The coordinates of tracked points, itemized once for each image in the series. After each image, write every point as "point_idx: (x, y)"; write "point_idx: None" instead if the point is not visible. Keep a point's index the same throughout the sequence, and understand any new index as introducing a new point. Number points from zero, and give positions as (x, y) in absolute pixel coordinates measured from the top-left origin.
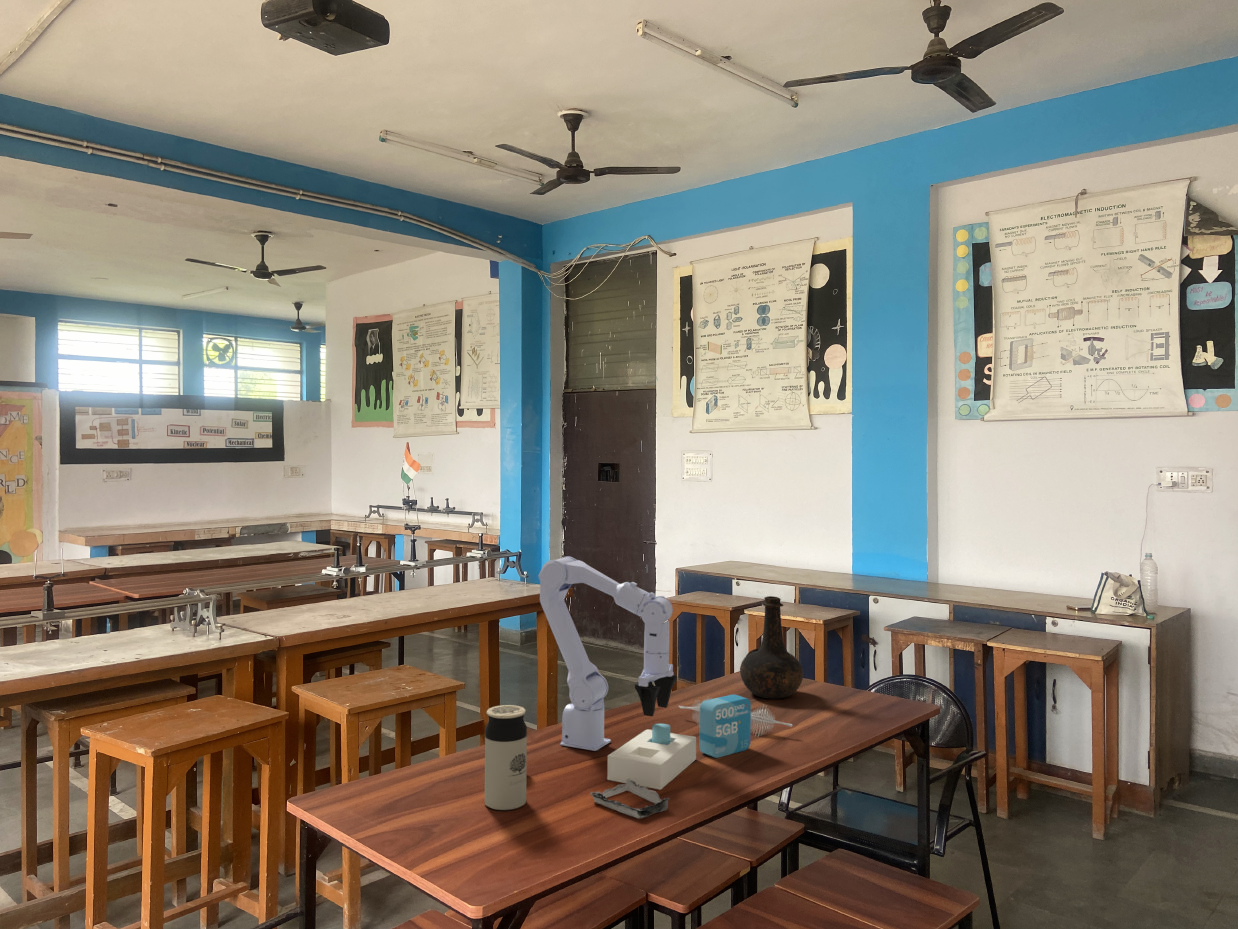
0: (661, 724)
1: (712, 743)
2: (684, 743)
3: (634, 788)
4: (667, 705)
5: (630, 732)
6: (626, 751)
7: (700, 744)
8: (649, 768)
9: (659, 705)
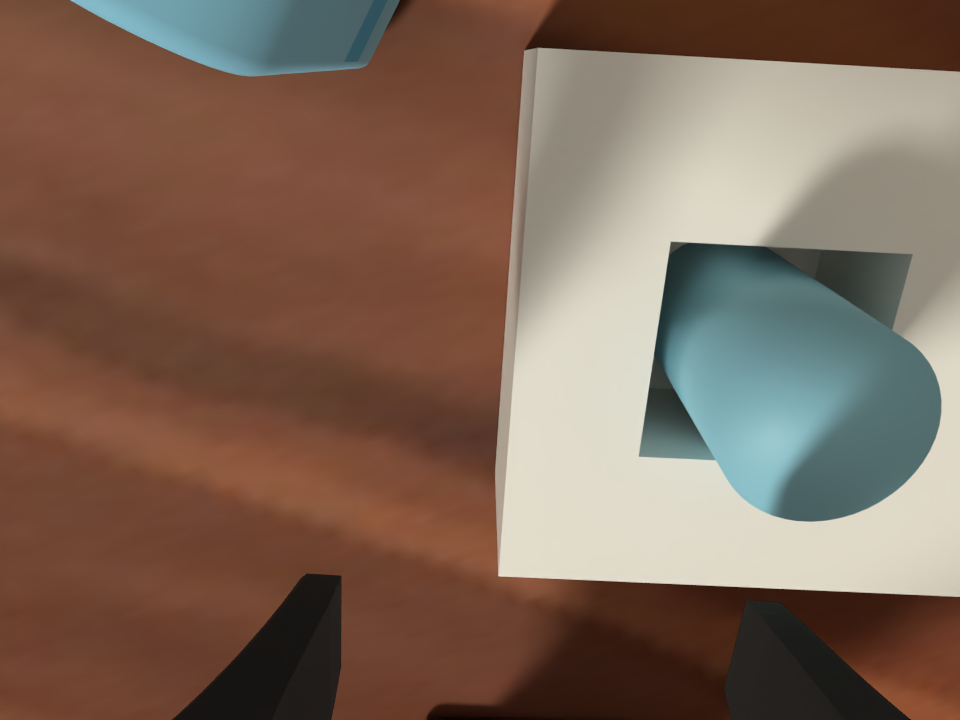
0: (753, 449)
1: None
2: (818, 100)
3: None
4: (304, 584)
5: (175, 683)
6: None
7: (368, 54)
8: None
9: (340, 665)
